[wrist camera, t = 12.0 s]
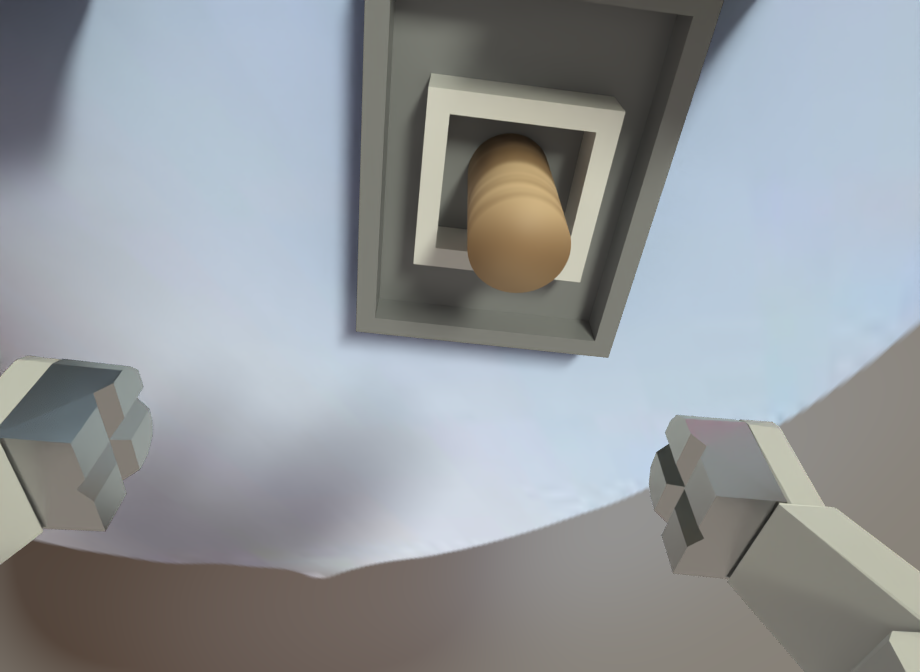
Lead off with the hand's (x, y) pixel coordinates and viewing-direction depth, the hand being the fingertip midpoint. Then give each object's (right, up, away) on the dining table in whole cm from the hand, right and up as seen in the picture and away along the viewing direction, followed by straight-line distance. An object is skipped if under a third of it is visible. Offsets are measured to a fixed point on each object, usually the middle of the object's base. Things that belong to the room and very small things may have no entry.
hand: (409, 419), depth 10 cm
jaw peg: (+3, +9, +21) cm, 23 cm away
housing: (+3, +10, +21) cm, 24 cm away
